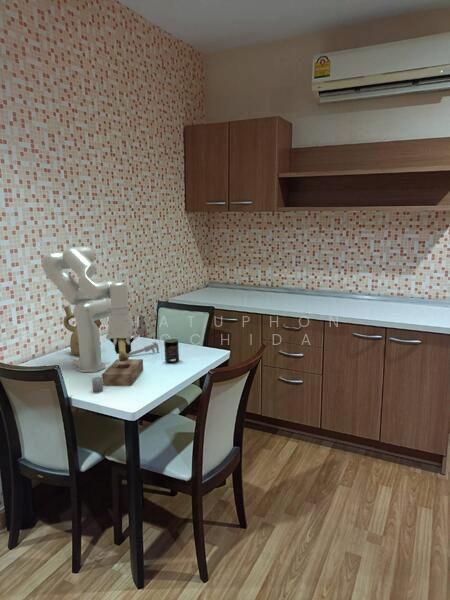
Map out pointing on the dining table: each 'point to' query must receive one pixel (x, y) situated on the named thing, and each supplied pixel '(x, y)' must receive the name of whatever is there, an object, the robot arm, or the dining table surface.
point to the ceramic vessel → (74, 330)
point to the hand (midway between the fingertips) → (123, 352)
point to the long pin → (122, 349)
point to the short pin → (97, 385)
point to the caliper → (145, 349)
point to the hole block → (123, 372)
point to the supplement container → (171, 351)
